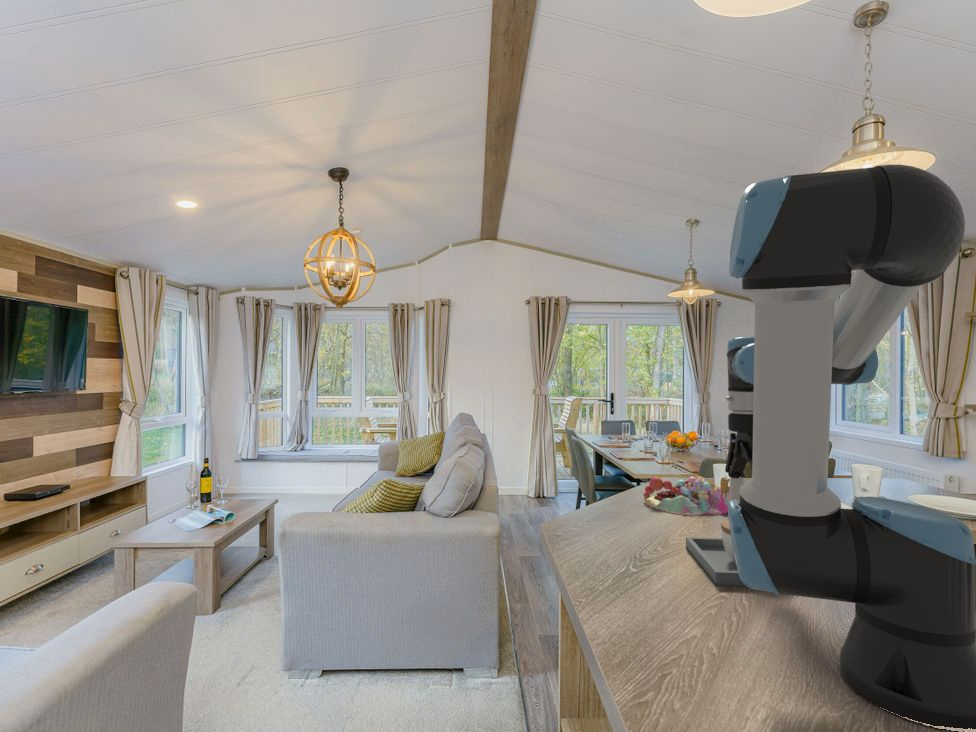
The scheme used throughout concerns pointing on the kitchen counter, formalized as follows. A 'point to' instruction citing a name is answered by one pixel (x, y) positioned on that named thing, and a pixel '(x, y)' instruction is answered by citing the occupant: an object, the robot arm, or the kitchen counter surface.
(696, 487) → the candy landscape model
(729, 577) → the tray
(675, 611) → the kitchen counter surface
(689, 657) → the kitchen counter surface
